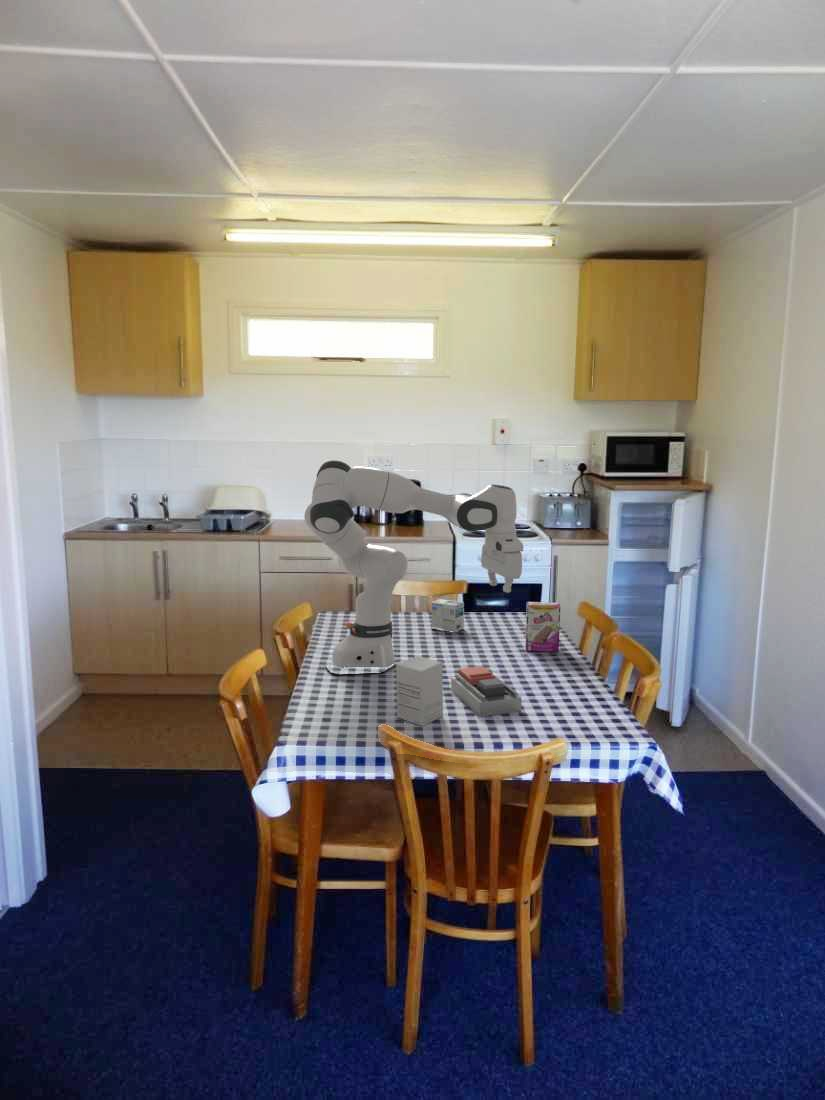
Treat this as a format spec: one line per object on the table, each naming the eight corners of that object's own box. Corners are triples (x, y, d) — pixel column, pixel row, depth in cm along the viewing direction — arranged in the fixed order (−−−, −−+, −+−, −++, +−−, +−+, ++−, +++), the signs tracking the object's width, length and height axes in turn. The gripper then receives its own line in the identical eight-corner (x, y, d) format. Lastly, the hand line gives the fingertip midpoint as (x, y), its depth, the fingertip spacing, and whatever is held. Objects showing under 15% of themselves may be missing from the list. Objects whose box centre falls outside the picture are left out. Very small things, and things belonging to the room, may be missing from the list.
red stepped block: (470, 685, 211) (470, 676, 210) (458, 675, 219) (458, 666, 219) (495, 682, 213) (495, 673, 212) (482, 672, 221) (482, 664, 221)
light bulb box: (464, 629, 283) (464, 601, 281) (455, 633, 277) (455, 605, 275) (439, 625, 289) (439, 598, 287) (430, 629, 283) (430, 601, 281)
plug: (484, 707, 203) (484, 686, 202) (476, 701, 208) (476, 680, 207) (504, 704, 205) (504, 683, 204) (496, 698, 210) (496, 677, 209)
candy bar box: (525, 652, 255) (526, 604, 252) (525, 647, 260) (526, 601, 257) (559, 653, 254) (560, 605, 251) (558, 648, 258) (559, 602, 256)
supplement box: (417, 708, 206) (417, 655, 203) (443, 716, 200) (443, 661, 198) (395, 718, 199) (395, 663, 196) (422, 726, 193) (422, 670, 191)
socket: (479, 716, 199) (480, 698, 198) (451, 690, 219) (451, 673, 218) (521, 711, 203) (521, 692, 202) (489, 685, 223) (489, 668, 222)
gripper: (476, 536, 225) (475, 582, 227) (505, 547, 206) (504, 596, 208) (495, 535, 227) (495, 580, 229) (526, 546, 208) (525, 595, 210)
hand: (500, 588), depth 219 cm, fingers open, 8 cm apart
